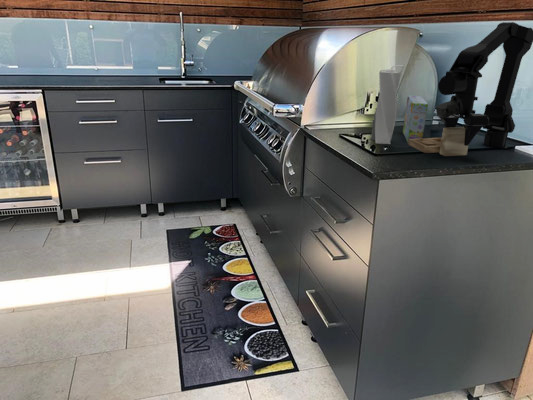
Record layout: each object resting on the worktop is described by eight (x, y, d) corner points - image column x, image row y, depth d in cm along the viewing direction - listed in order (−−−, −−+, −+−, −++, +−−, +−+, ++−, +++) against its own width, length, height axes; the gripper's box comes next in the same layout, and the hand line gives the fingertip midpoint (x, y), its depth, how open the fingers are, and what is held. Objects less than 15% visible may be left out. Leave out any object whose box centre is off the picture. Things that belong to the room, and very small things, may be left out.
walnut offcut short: (424, 143, 151) (424, 140, 150) (433, 146, 146) (433, 143, 146) (417, 144, 150) (417, 140, 150) (426, 147, 146) (426, 144, 145)
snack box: (423, 145, 156) (429, 103, 150) (406, 145, 157) (412, 102, 151) (416, 133, 175) (421, 95, 170) (401, 132, 176) (406, 94, 171)
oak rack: (440, 145, 156) (441, 137, 155) (459, 153, 146) (461, 145, 145) (407, 146, 154) (408, 139, 153) (424, 155, 144) (426, 146, 143)
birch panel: (439, 154, 143) (443, 127, 139) (460, 153, 144) (465, 126, 141) (444, 157, 140) (448, 129, 137) (466, 156, 141) (471, 128, 138)
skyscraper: (393, 142, 161) (402, 63, 151) (395, 148, 153) (405, 65, 143) (370, 141, 162) (377, 63, 152) (371, 147, 155) (378, 65, 144)
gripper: (425, 89, 142) (419, 136, 147) (460, 97, 125) (452, 150, 130) (456, 89, 144) (448, 135, 150) (494, 96, 127) (484, 148, 133)
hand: (457, 142), depth 140 cm, fingers open, 9 cm apart
